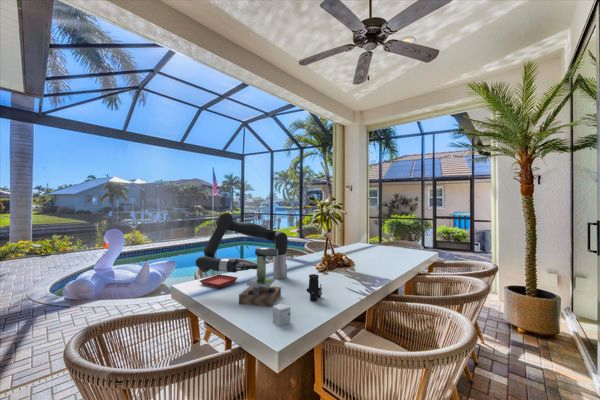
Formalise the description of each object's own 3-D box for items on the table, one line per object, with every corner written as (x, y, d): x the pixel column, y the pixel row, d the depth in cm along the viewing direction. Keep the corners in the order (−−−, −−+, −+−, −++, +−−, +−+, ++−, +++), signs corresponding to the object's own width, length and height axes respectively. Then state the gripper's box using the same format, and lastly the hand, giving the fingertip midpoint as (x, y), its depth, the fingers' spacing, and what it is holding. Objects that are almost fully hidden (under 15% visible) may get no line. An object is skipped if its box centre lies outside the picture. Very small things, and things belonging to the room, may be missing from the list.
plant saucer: (198, 285, 173) (198, 280, 173) (219, 278, 189) (219, 273, 189) (219, 289, 164) (219, 284, 164) (238, 282, 180) (238, 277, 180)
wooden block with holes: (238, 304, 140) (239, 287, 140) (251, 292, 158) (252, 277, 158) (270, 307, 137) (271, 289, 137) (280, 295, 154) (280, 280, 154)
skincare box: (279, 326, 115) (279, 309, 115) (272, 321, 120) (272, 305, 120) (290, 323, 119) (291, 306, 119) (283, 318, 124) (283, 302, 124)
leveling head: (246, 289, 142) (246, 249, 142) (255, 282, 155) (256, 245, 155) (272, 291, 139) (273, 250, 139) (279, 284, 152) (280, 246, 152)
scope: (322, 273, 153) (320, 277, 143) (322, 297, 152) (320, 303, 143) (308, 272, 154) (305, 276, 144) (308, 295, 154) (305, 302, 144)
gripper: (223, 261, 146) (252, 262, 142) (234, 256, 158) (261, 258, 155) (223, 274, 145) (252, 276, 142) (234, 269, 158) (261, 271, 154)
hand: (257, 267), depth 148 cm, fingers closed
